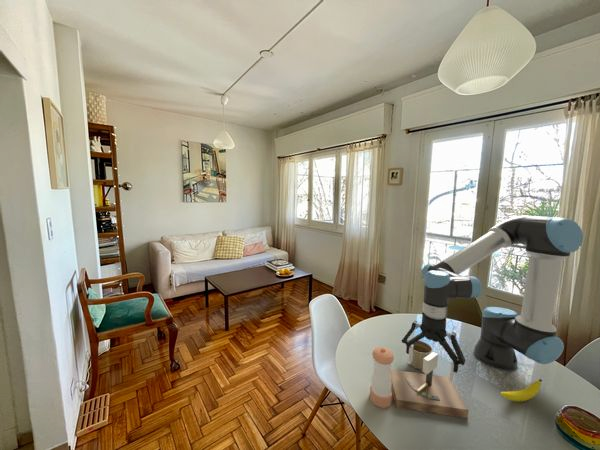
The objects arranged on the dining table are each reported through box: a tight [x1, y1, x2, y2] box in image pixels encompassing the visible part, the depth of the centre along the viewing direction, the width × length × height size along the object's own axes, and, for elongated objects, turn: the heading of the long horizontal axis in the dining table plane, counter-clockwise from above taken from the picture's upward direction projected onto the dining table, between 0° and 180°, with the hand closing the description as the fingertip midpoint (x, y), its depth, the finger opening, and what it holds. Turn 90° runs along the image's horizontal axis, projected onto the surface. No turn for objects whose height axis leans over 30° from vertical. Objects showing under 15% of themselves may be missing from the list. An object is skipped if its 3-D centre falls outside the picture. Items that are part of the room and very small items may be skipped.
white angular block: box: [417, 351, 439, 392], centre depth 89 cm, size 11×2×11 cm, turn 126°
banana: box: [500, 378, 543, 403], centre depth 87 cm, size 3×19×6 cm, turn 104°
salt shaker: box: [369, 346, 395, 409], centre depth 86 cm, size 7×7×19 cm
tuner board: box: [391, 369, 469, 419], centre depth 89 cm, size 22×15×3 cm
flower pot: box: [410, 340, 434, 371], centre depth 105 cm, size 9×9×9 cm
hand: (429, 370), depth 90 cm, fingers open, 13 cm apart
